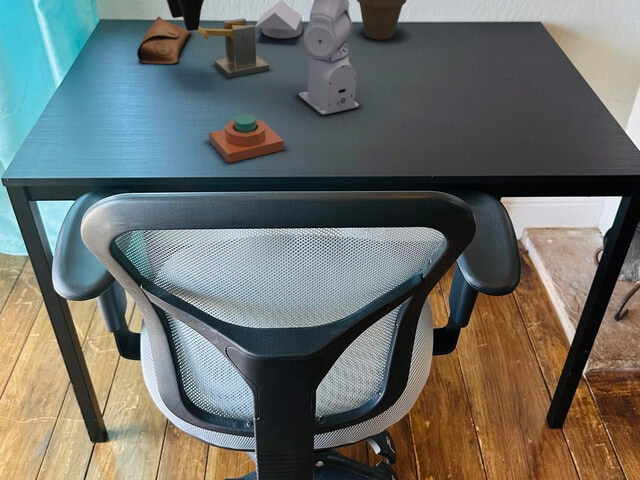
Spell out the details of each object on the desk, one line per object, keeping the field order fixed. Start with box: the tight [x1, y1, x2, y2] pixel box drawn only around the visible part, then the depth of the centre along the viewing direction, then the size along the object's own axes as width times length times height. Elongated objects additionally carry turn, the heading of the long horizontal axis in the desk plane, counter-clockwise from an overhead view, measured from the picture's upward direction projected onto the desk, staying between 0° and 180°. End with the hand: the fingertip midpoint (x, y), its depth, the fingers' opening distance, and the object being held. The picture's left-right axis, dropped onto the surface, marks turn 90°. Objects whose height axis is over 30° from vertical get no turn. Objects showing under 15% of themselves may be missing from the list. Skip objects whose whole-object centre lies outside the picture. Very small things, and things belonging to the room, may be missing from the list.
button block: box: [208, 118, 285, 164], centre depth 110 cm, size 8×10×4 cm
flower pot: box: [356, 0, 407, 41], centre depth 148 cm, size 12×11×10 cm
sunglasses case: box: [136, 16, 193, 65], centre depth 141 cm, size 18×7×7 cm, turn 0°
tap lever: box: [195, 25, 244, 40], centre depth 129 cm, size 10×5×2 cm, turn 120°
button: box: [233, 113, 257, 133], centre depth 108 cm, size 4×4×2 cm
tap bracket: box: [213, 17, 270, 79], centre depth 132 cm, size 9×7×9 cm
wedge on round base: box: [254, 0, 303, 39], centre depth 148 cm, size 9×7×13 cm
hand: (185, 23), depth 124 cm, fingers open, 7 cm apart
